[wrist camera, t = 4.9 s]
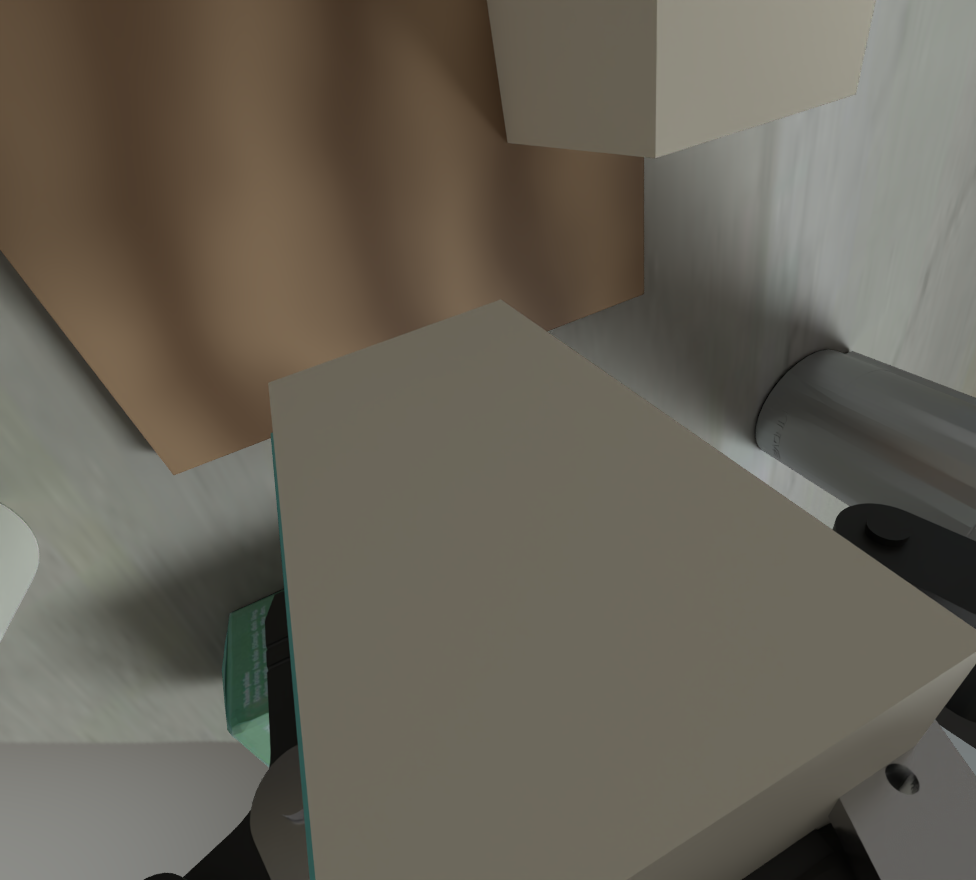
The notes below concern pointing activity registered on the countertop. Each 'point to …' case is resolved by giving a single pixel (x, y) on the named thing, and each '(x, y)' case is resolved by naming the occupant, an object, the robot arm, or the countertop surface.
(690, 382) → the countertop surface
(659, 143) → the faced carton
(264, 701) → the box
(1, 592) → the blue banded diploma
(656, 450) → the carton
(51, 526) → the countertop surface
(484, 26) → the board
